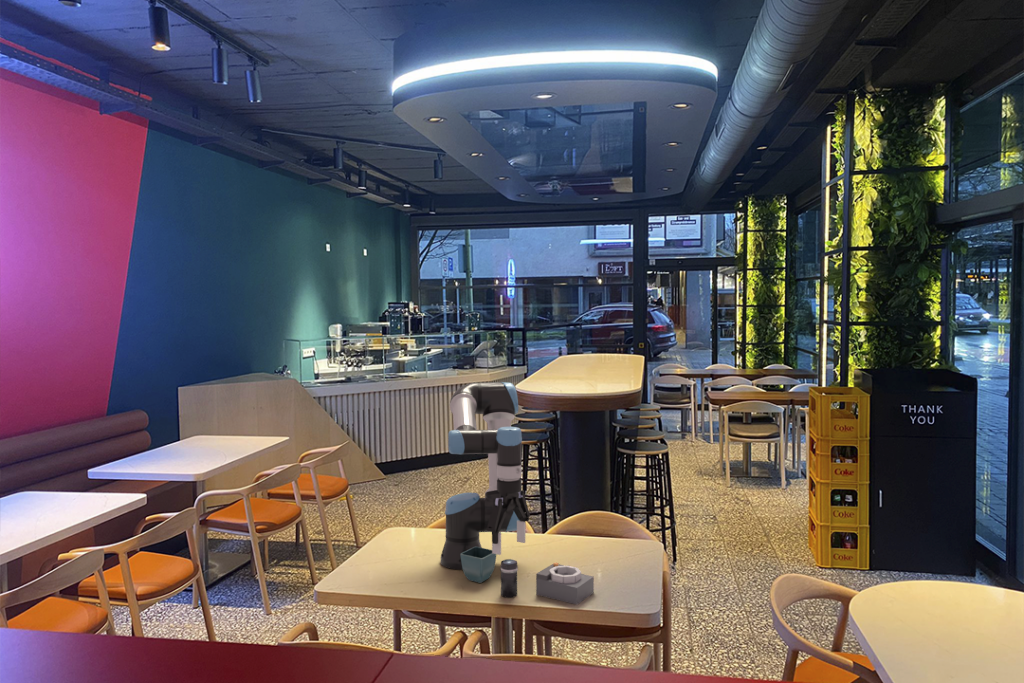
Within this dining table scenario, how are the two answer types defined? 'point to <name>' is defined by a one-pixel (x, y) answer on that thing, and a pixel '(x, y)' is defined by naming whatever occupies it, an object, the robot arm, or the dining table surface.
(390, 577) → the dining table surface
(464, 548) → the robot arm
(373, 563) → the dining table surface
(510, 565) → the lens
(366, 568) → the dining table surface
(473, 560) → the flower pot
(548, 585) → the camera body
